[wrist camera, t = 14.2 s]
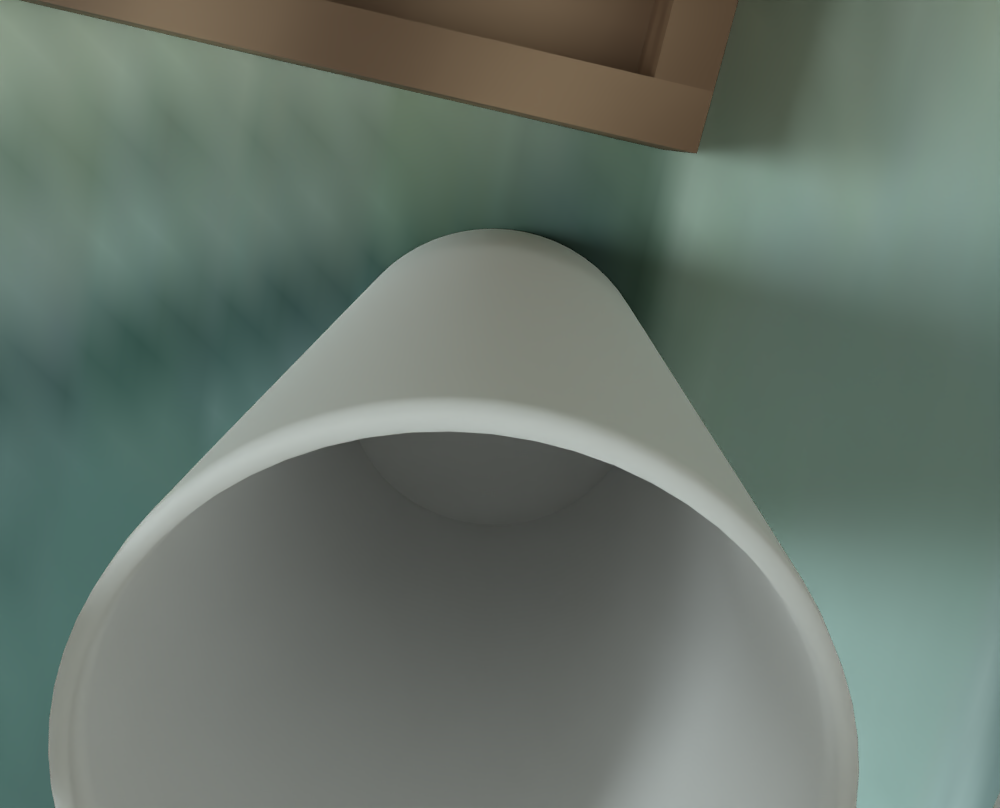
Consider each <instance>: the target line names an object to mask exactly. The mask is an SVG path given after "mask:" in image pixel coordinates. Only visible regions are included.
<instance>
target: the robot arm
mask: <svg viewBox="0 0 1000 808" xmlns="http://www.w3.org/2000/svg"><path fill="white" fill-rule="evenodd" d="M993 808H1000V793H999V795H998V797H997V800H996V802H995V804H994V807H993Z"/></svg>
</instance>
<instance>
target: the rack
mask: <svg viewBox="0 0 1000 808" xmlns="http://www.w3.org/2000/svg"><path fill="white" fill-rule="evenodd" d="M21 1H25V2H30V3H34V4H38V5H43V6H47V7H51V8H55V9H60V10H64V11H68V12H73V13H77V14H81V15H86V16H90V17H94V18H99V19H103V20H107V21H111V22H116V23H120V24H124V25H129V26H133V27H137V28H142V29H146V30H150V31H155V32H159V33H163V34H167V35H172V36H176V37H180V38H185V39H189V40H193V41H198V42H202V43H206V44H211V45H215V46H219V47H223V48H228V49H232V50H236V51H241V52H245V53H249V54H254V55H258V56H262V57H267V58H271V59H275V60H279V61H284V62H288V63H292V64H297V65H301V66H305V67H310V68H314V69H318V70H323V71H327V72H331V73H335V74H340V75H344V76H348V77H353V78H357V79H361V80H366V81H370V82H374V83H378V84H383V85H387V86H391V87H396V88H400V89H404V90H409V91H413V92H417V93H422V94H426V95H430V96H434V97H439V98H443V99H447V100H452V101H456V102H460V103H465V104H469V105H473V106H478V107H482V108H486V109H490V110H495V111H499V112H503V113H508V114H512V115H516V116H521V117H525V118H529V119H534V120H538V121H542V122H546V123H551V124H555V125H559V126H564V127H568V128H572V129H577V130H581V131H585V132H590V133H594V134H598V135H602V136H607V137H611V138H615V139H620V140H624V141H628V142H633V143H637V144H641V145H646V146H650V147H654V148H658V149H663V150H671V151H680V152H688V153H697V151H698V147H699V143H700V140H701V136H702V132H703V129H704V125H705V121H706V118H707V114H708V110H709V107H710V103H711V99H712V96H713V92H714V88H715V85H716V81H717V77H718V74H719V70H720V66H721V63H722V59H723V55H724V51H725V48H726V44H727V40H728V37H729V33H730V29H731V26H732V22H733V18H734V15H735V11H736V7H737V4H738V0H21Z"/></svg>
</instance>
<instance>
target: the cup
mask: <svg viewBox="0 0 1000 808" xmlns="http://www.w3.org/2000/svg"><path fill="white" fill-rule="evenodd" d="M48 755H49V767H50V778H51V788H52V793H53V798H54V803H55V808H856V801H857V789H858V777H859V761H858V737H857V730H856V724H855V717H854V711H853V704H852V700H851V696H850V693H849V689H848V686H847V682H846V678H845V675H844V671H843V668H842V665H841V663H840V660H839V657H838V655H837V652H836V650H835V647H834V645H833V642H832V640H831V637H830V635H829V632H828V630H827V627H826V625H825V622H824V620H823V617H822V615H821V613H820V611H819V609H818V607H817V605H816V603H815V602H814V600H813V598H812V596H811V594H810V592H809V591H808V589H807V587H806V585H805V583H804V581H803V580H802V578H801V577H800V575H799V573H798V572H797V570H796V569H795V567H794V565H793V564H792V562H791V561H790V559H789V557H788V556H787V554H786V553H785V551H784V549H783V548H782V546H781V545H780V543H779V542H778V540H777V538H776V537H775V535H774V534H773V532H772V530H771V529H770V527H769V526H768V524H767V522H766V521H765V519H764V518H763V516H762V515H761V513H760V511H759V510H758V508H757V507H756V505H755V503H754V502H753V500H752V499H751V497H750V495H749V494H748V492H747V491H746V489H745V488H744V486H743V484H742V483H741V481H740V480H739V478H738V477H737V475H736V473H735V472H734V470H733V469H732V467H731V466H730V464H729V462H728V461H727V459H726V458H725V456H724V455H723V453H722V451H721V450H720V448H719V447H718V445H717V444H716V442H715V440H714V439H713V437H712V436H711V434H710V433H709V431H708V429H707V428H706V426H705V425H704V423H703V422H702V420H701V419H700V417H699V415H698V414H697V412H696V411H695V409H694V408H693V406H692V404H691V403H690V401H689V400H688V398H687V397H686V395H685V393H684V392H683V390H682V389H681V387H680V386H679V384H678V382H677V381H676V379H675V378H674V376H673V375H672V373H671V371H670V370H669V368H668V367H667V365H666V364H665V362H664V360H663V359H662V357H661V356H660V354H659V353H658V351H657V349H656V348H655V346H654V345H653V343H652V342H651V340H650V338H649V337H648V335H647V334H646V332H645V331H644V329H643V327H642V326H641V324H640V323H639V321H638V320H637V318H636V317H635V315H634V313H633V312H632V310H631V309H630V307H629V306H628V304H627V302H626V301H625V299H624V298H623V297H622V295H621V294H620V292H619V291H618V289H617V288H616V287H615V286H614V285H613V284H612V282H611V281H610V280H609V279H608V278H607V277H606V276H605V275H604V274H603V273H602V272H601V271H600V270H599V269H598V268H597V267H596V266H594V265H593V264H592V263H590V262H589V261H588V260H587V259H585V258H584V257H582V256H581V255H579V254H578V253H576V252H574V251H573V250H571V249H569V248H567V247H565V246H563V245H561V244H559V243H557V242H555V241H552V240H550V239H547V238H544V237H542V236H538V235H534V234H531V233H527V232H521V231H515V230H508V229H477V230H469V231H462V232H458V233H454V234H450V235H446V236H443V237H440V238H437V239H435V240H432V241H430V242H428V243H425V244H423V245H421V246H419V247H417V248H415V249H414V250H412V251H410V252H409V253H407V254H405V255H404V256H402V257H401V258H400V259H398V260H397V261H396V262H394V263H393V264H392V265H391V266H390V267H388V268H387V269H386V270H385V271H384V272H383V273H382V274H381V275H380V276H379V277H378V278H377V279H376V280H375V281H374V282H373V283H372V284H371V285H370V286H369V287H368V288H367V289H366V290H365V291H364V292H363V293H362V294H361V295H360V296H359V297H358V298H357V299H356V300H355V301H354V303H353V304H352V305H351V306H350V307H349V308H348V309H347V310H346V311H345V312H344V313H343V314H342V315H341V316H340V317H339V318H338V319H337V320H336V321H335V322H334V323H333V324H332V325H331V326H330V327H329V328H328V329H327V330H326V331H325V332H324V333H323V334H322V335H321V336H320V337H319V338H318V339H317V341H316V342H315V343H314V344H313V345H312V346H311V347H310V348H309V349H308V350H307V351H306V352H305V353H304V354H303V355H302V356H301V357H300V358H299V359H298V360H297V361H296V362H295V363H294V364H293V365H292V366H291V367H290V368H289V369H288V370H287V371H286V372H285V373H284V374H283V375H282V376H281V377H280V378H279V380H278V381H277V382H276V383H275V384H274V385H273V386H272V387H271V388H270V389H269V390H268V391H267V392H266V393H265V394H264V395H263V396H262V397H261V398H260V399H259V400H258V401H257V402H256V403H255V404H254V405H253V406H252V407H251V408H250V409H249V410H248V411H247V412H246V413H245V414H244V415H243V416H242V418H241V419H240V420H239V421H238V422H237V423H236V424H235V425H234V426H233V427H232V428H231V429H230V430H229V431H228V432H227V433H226V434H225V435H224V436H223V437H222V438H221V439H220V440H219V441H218V442H217V443H216V444H215V445H214V446H213V447H212V448H211V450H210V451H209V452H208V453H207V454H206V455H205V456H204V457H203V458H202V459H201V460H200V461H199V462H198V463H197V464H196V465H195V466H194V467H193V468H192V469H191V470H190V471H189V472H188V473H187V474H186V475H185V477H184V478H183V479H182V480H181V481H180V482H179V483H178V484H177V485H176V486H175V487H174V488H173V489H172V490H171V491H170V492H169V493H168V494H167V495H166V496H165V497H164V498H163V499H162V500H161V501H160V502H159V504H158V505H157V506H156V507H155V508H154V509H153V510H152V511H151V512H150V513H149V514H148V515H147V517H146V518H145V519H144V520H143V521H142V522H141V523H140V524H139V526H138V527H137V528H136V529H135V530H134V531H133V532H132V533H131V535H130V536H129V537H128V538H127V539H126V541H125V542H124V544H123V545H122V547H121V548H120V549H119V551H118V552H117V554H116V555H115V557H114V558H113V559H112V561H111V562H110V564H109V565H108V566H107V568H106V570H105V571H104V573H103V574H102V576H101V577H100V579H99V580H98V582H97V583H96V585H95V587H94V588H93V590H92V592H91V594H90V596H89V597H88V599H87V601H86V603H85V605H84V607H83V608H82V610H81V612H80V614H79V616H78V618H77V620H76V622H75V625H74V627H73V630H72V632H71V635H70V637H69V640H68V642H67V645H66V647H65V650H64V652H63V656H62V659H61V663H60V667H59V670H58V674H57V678H56V682H55V685H54V691H53V698H52V705H51V712H50V719H49V750H48Z"/></svg>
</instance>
